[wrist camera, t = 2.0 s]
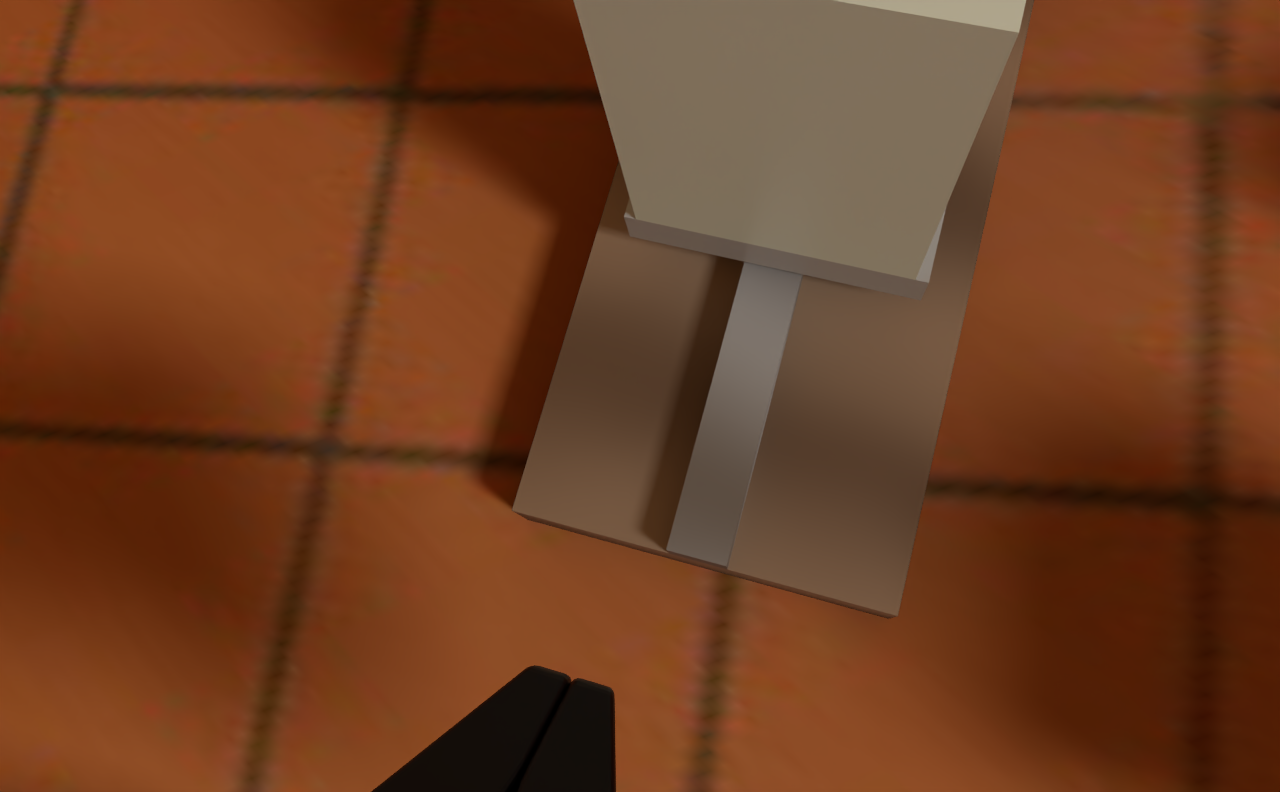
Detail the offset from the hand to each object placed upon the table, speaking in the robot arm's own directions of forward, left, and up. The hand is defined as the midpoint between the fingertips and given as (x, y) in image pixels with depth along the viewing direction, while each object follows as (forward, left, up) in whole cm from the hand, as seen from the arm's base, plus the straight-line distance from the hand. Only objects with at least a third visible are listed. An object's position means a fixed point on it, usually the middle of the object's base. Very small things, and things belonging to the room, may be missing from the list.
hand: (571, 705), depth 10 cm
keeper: (+9, +4, -10) cm, 14 cm away
